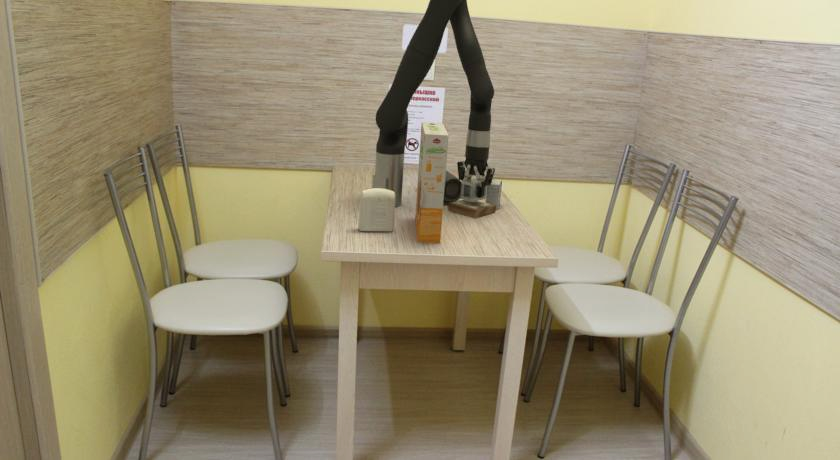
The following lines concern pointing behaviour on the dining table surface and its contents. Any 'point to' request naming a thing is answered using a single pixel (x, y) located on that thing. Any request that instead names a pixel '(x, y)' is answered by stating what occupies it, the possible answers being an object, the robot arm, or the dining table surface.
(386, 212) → the beige upright block
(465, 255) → the dining table surface
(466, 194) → the steel housing
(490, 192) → the medicine box
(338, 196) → the dining table surface
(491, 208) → the walnut frame
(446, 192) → the bluetooth speaker
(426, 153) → the cereal box
